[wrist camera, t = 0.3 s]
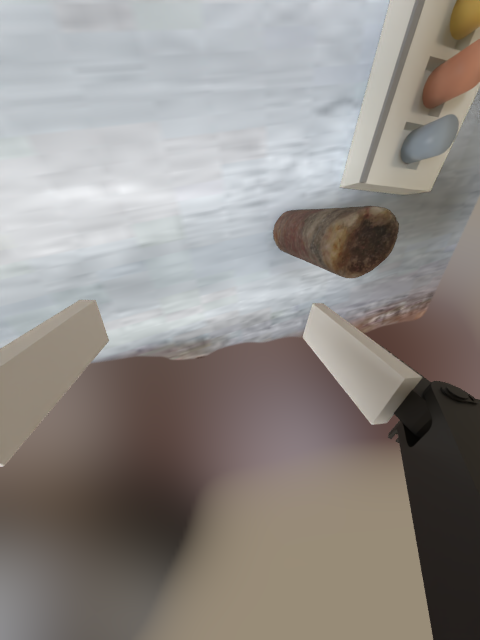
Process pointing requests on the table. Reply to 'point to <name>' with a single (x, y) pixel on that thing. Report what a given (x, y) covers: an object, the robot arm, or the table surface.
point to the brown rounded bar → (338, 237)
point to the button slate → (430, 139)
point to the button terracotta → (453, 77)
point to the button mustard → (464, 18)
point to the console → (404, 98)
